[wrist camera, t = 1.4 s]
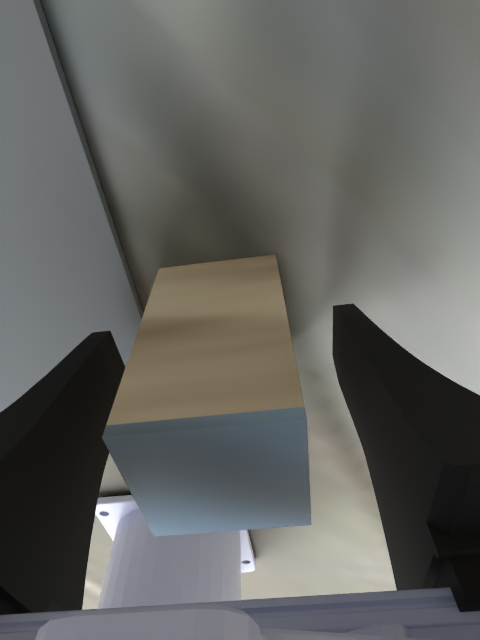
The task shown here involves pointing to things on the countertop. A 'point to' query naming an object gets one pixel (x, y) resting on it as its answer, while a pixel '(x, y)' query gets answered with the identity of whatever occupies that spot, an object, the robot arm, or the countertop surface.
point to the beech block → (213, 404)
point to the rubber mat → (51, 217)
